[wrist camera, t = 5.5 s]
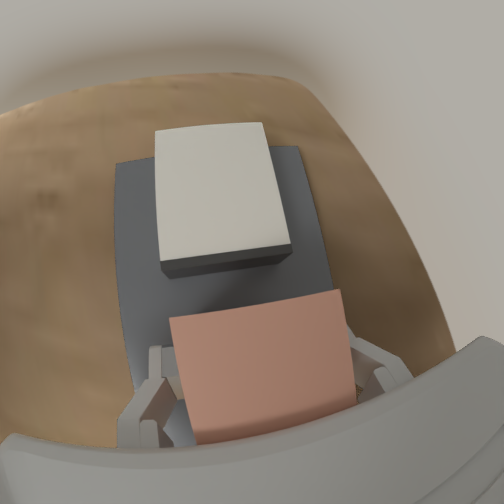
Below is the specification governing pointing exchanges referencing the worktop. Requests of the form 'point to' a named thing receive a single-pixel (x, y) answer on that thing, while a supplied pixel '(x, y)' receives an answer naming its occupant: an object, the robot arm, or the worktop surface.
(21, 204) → the worktop surface
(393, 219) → the worktop surface
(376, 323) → the worktop surface
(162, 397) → the robot arm
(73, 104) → the worktop surface
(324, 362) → the salmon pink rectangular block
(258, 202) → the stand
